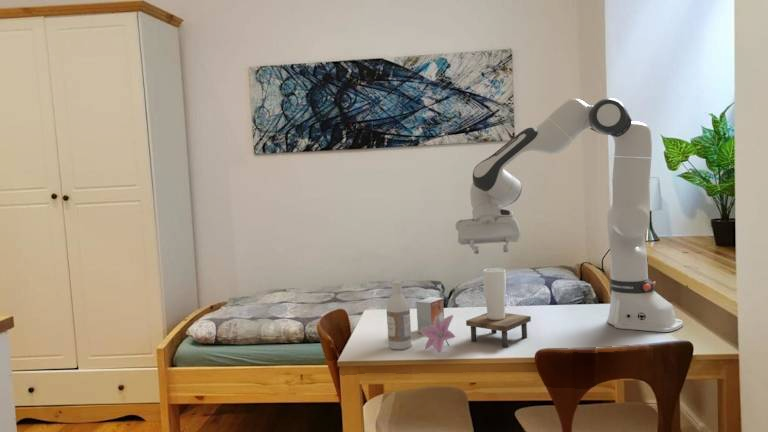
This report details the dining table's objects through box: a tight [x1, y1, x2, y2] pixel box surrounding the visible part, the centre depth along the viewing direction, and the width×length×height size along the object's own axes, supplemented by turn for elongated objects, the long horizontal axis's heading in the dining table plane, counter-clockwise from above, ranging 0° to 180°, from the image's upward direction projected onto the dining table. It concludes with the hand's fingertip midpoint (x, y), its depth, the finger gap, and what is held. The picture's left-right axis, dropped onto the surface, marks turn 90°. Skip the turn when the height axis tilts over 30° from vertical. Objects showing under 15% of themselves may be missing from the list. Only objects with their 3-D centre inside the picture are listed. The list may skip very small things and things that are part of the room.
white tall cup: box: [482, 267, 507, 320], centre depth 203 cm, size 7×7×15 cm
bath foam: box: [386, 280, 412, 351], centre depth 202 cm, size 7×7×20 cm
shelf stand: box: [465, 312, 532, 348], centre depth 204 cm, size 14×14×6 cm
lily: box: [420, 314, 456, 355], centre depth 198 cm, size 12×12×10 cm
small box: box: [415, 296, 445, 334], centre depth 218 cm, size 8×6×10 cm
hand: (491, 251), depth 214 cm, fingers open, 8 cm apart
